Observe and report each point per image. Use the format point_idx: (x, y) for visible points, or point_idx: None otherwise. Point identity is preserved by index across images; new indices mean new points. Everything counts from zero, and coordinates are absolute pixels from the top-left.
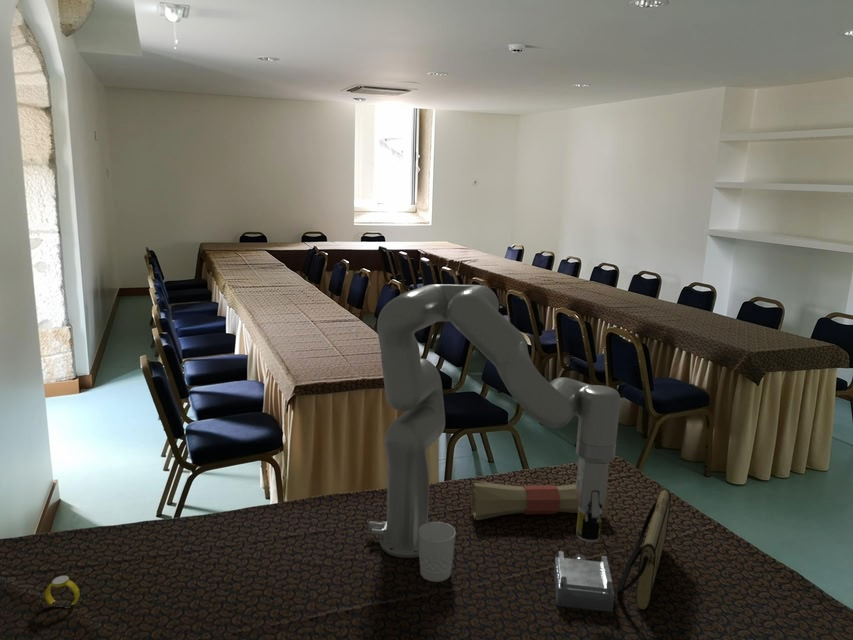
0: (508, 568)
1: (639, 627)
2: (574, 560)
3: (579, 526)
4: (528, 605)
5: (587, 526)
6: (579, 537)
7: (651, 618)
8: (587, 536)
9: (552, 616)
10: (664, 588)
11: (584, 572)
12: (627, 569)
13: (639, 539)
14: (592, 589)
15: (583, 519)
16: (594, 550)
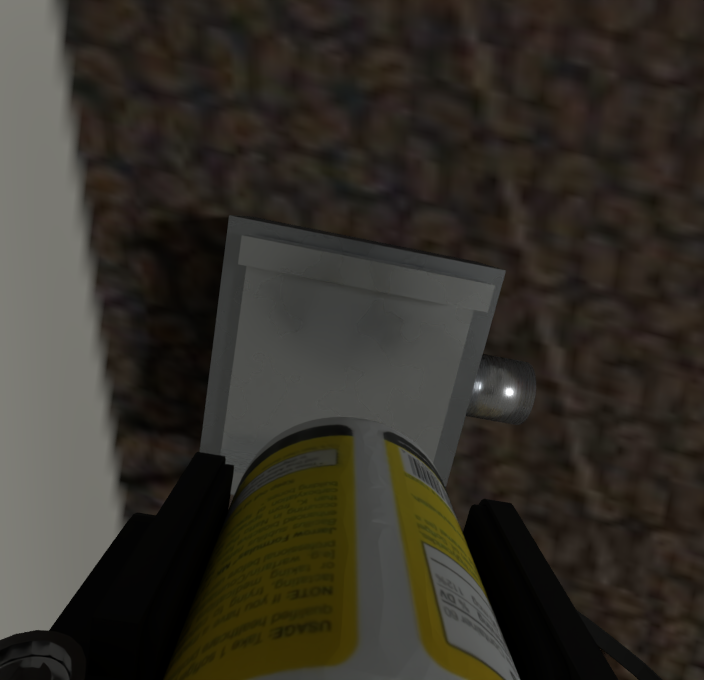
0: (536, 35)
1: (143, 493)
2: (451, 361)
3: (288, 487)
4: (247, 80)
5: (71, 605)
6: (290, 430)
7: None
8: (137, 514)
9: (178, 179)
10: None
11: (346, 383)
12: None
13: (642, 665)
14: (227, 384)
15: (114, 628)
16: (620, 477)
